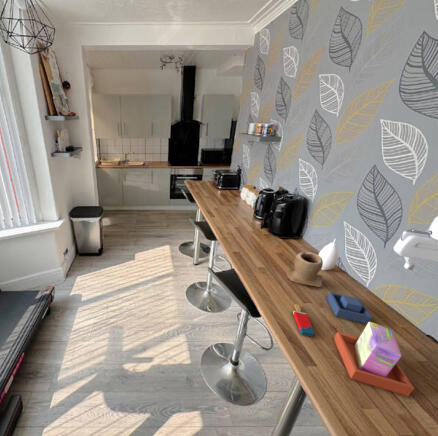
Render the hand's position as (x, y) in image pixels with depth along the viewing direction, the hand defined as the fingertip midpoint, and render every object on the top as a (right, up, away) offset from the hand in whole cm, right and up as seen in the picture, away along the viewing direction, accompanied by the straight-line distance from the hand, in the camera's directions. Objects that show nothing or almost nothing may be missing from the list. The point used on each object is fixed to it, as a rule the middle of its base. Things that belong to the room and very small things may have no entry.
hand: (426, 271), depth 76 cm
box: (-20, -29, -1) cm, 35 cm away
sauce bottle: (+1, -9, +46) cm, 47 cm away
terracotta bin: (-20, -29, -1) cm, 36 cm away
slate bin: (-9, -20, +20) cm, 30 cm away
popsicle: (-31, -22, +15) cm, 41 cm away
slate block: (-9, -20, +19) cm, 29 cm away
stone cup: (-16, -13, +36) cm, 41 cm away
